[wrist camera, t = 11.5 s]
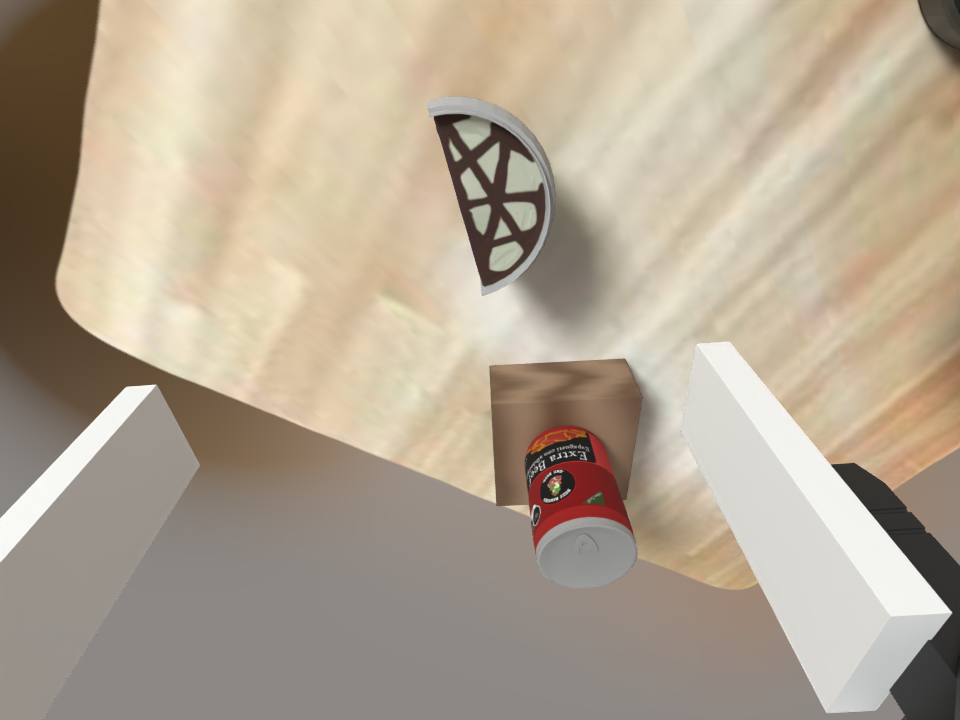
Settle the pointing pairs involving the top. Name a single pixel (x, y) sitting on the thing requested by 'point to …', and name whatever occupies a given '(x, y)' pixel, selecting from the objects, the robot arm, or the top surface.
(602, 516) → the canned food
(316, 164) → the top surface
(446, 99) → the food container
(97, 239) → the top surface
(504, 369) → the walnut stand
